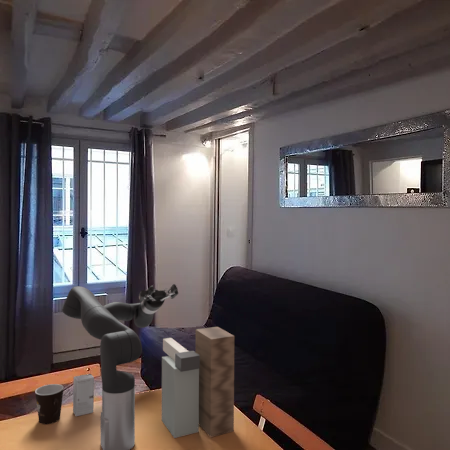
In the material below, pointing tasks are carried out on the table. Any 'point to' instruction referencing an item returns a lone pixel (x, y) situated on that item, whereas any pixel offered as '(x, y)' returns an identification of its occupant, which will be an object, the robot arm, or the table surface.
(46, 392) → the coffee mug
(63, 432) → the table surface
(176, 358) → the bar
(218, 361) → the brown tall block
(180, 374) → the pale green block
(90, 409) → the skincare box
